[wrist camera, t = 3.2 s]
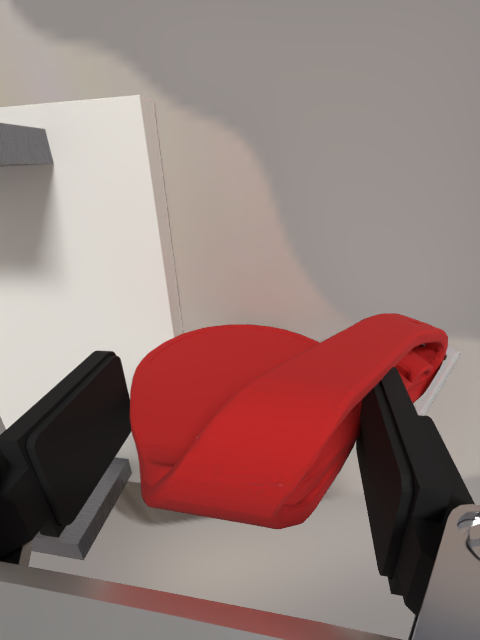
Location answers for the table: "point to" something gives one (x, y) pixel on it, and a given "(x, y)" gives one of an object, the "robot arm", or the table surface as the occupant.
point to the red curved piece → (268, 412)
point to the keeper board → (82, 263)
